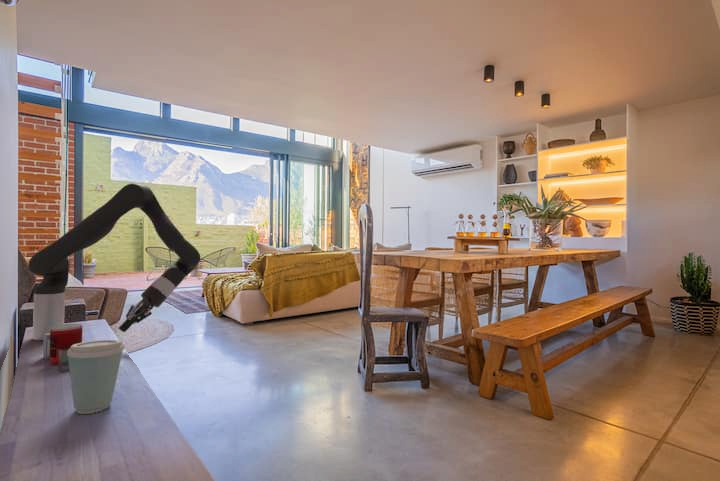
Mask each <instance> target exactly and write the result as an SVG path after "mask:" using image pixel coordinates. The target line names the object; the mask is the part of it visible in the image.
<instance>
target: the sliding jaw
mask: <svg viewBox="0 0 720 481" xmlns="http://www.w3.org/2000/svg"><path fill="white" fill-rule="evenodd" d="M42 350H43V351H42V352H43V354H42V355H43V356H42V357H43V359H45V360H48V359H49V360H50V333H46V334H44V340H43V349H42Z"/></svg>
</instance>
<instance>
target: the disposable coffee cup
mask: <svg viewBox="0 0 720 481" xmlns="http://www.w3.org/2000/svg"><path fill="white" fill-rule="evenodd" d="M124 350H125V344H123V341H122V340H118V339H99V340H98V339H97V340H89V341H82V343H77V344H74V345H72V346H71V347H70V349H69V350H68V351H67V356H68V361H69V369H70V371H69V376H70V383H71V384H70V386H71V392H72V400H73V409H75V412H76V413H77V414H81V415H87V414H89V415H90V414H95V412H96V413H98V411H100V410H103V409H105V408H107V407H108V408H109V407H110V406H111V403H112V402H113V398H114V397H113V396H114V392H115V387H116V383H117V378H118V373H119V369H120V366H121V365H120V364H121V360H122V355H123V352H124ZM108 408H107V409H108ZM105 410H106V409H105ZM103 411H104V410H103ZM100 412H101V411H100Z"/></svg>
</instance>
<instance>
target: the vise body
mask: <svg viewBox="0 0 720 481" xmlns="http://www.w3.org/2000/svg"><path fill="white" fill-rule="evenodd" d="M69 349H70V347H69V348H63V349H59V365H58V371H59V372H60V373H65V372H70V369H69V361H68V356H67V351H68V350H69Z"/></svg>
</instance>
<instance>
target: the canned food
mask: <svg viewBox="0 0 720 481" xmlns="http://www.w3.org/2000/svg"><path fill="white" fill-rule="evenodd" d="M82 342H83V324H82V323H77V322H76V323H64V324H62V325H56V326H53V327H51V329H50V358H49V363H50V365H53V366H59V349H63V348H69V347H71V346H72V345H74V344H77V343H82Z"/></svg>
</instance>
